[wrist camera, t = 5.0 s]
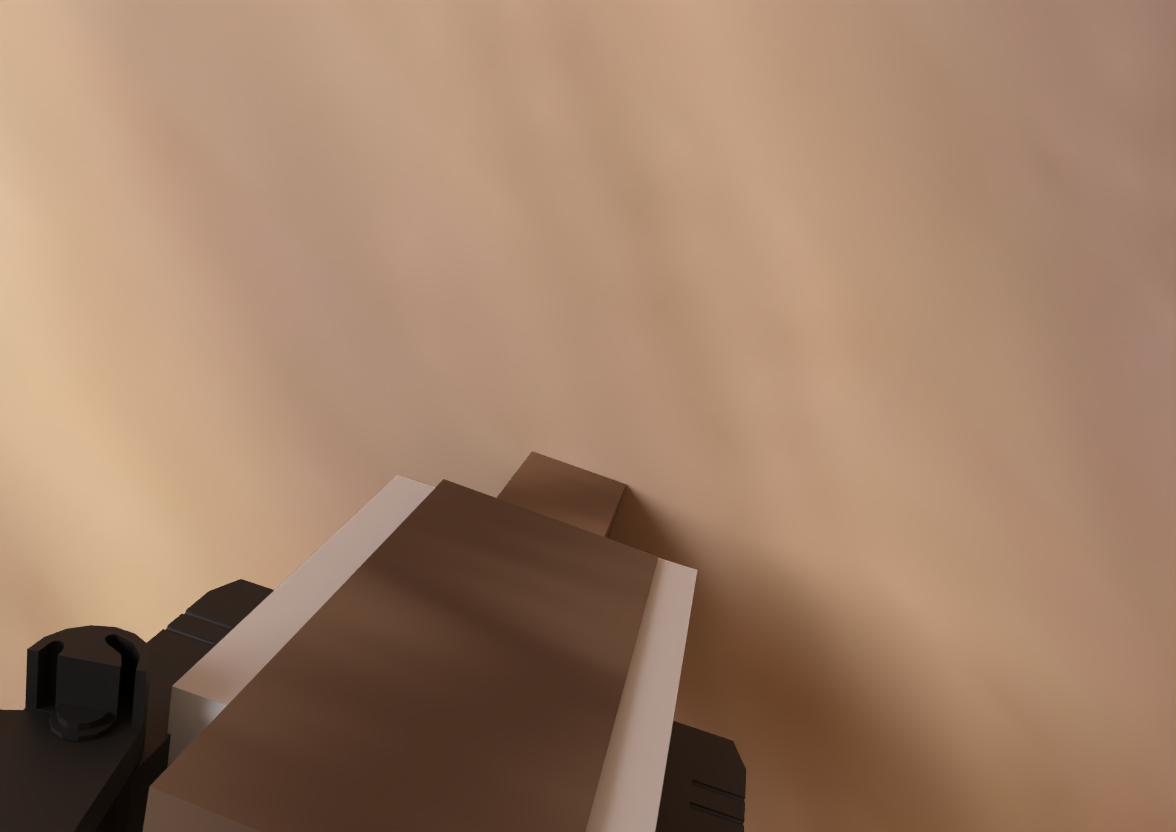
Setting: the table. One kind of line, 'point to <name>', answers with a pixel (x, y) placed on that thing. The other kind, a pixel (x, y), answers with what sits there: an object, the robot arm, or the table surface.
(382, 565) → the crook
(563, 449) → the table surface
